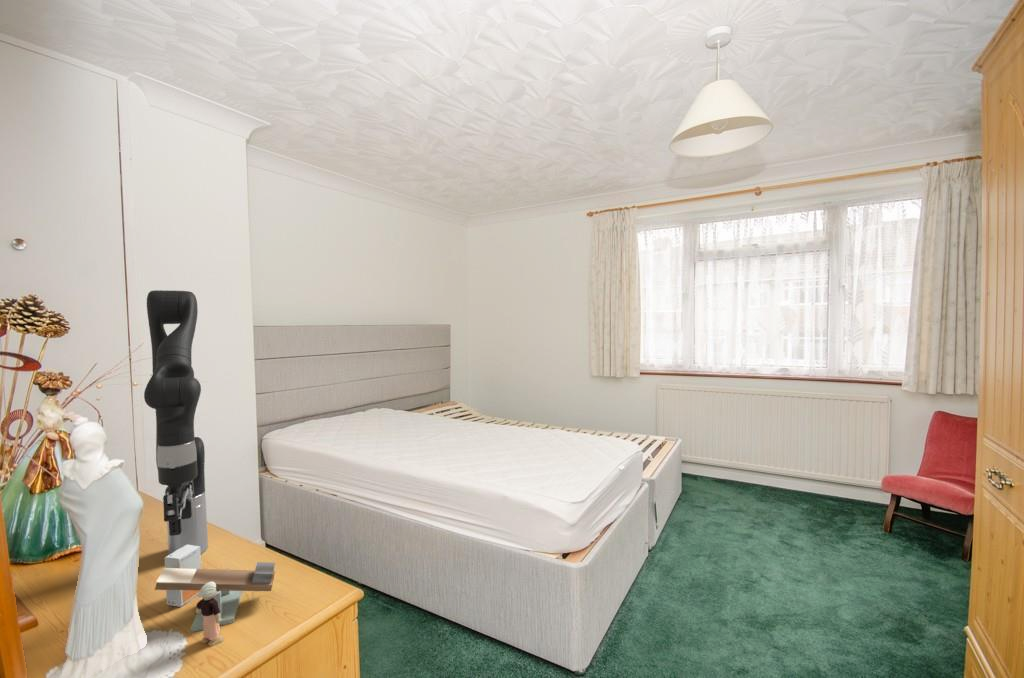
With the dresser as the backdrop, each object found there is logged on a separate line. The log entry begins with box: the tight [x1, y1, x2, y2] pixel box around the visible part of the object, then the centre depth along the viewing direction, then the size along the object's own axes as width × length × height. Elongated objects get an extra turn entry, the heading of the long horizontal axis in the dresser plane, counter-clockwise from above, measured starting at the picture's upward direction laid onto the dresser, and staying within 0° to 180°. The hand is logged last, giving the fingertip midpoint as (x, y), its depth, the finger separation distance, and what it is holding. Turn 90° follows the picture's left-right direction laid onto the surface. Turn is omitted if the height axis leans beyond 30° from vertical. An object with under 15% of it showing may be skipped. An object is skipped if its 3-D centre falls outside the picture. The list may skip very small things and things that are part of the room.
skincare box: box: [164, 545, 202, 608], centre depth 109 cm, size 6×4×12 cm
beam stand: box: [190, 568, 244, 633], centre depth 105 cm, size 12×8×7 cm, turn 22°
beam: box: [154, 561, 276, 592], centre depth 104 cm, size 7×23×5 cm, turn 112°
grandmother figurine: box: [195, 582, 225, 647], centre depth 95 cm, size 8×4×13 cm, turn 77°
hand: (181, 526), depth 108 cm, fingers open, 8 cm apart
